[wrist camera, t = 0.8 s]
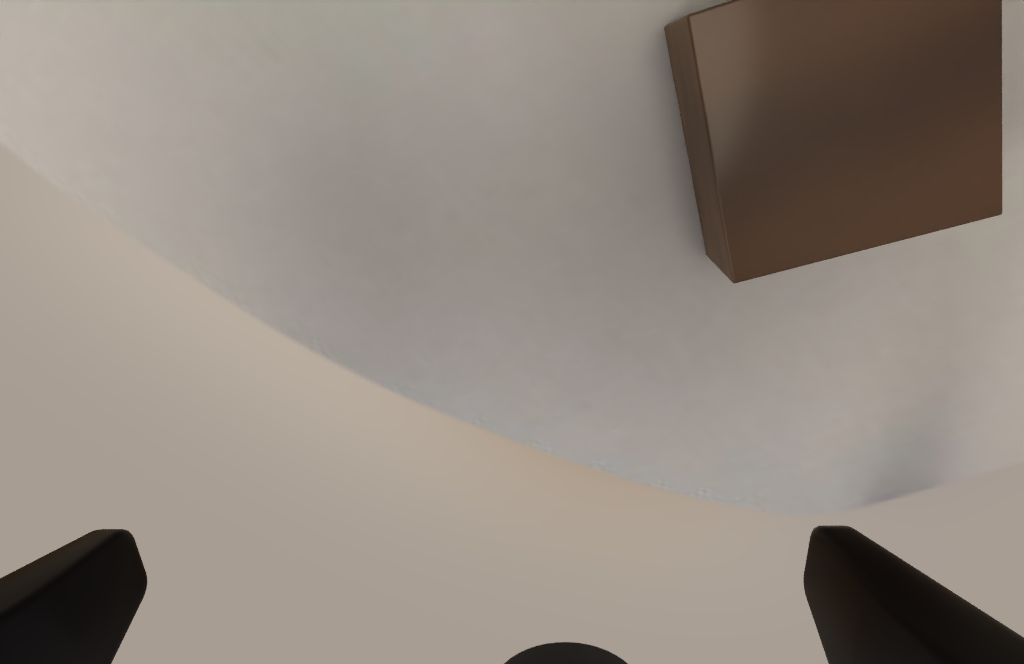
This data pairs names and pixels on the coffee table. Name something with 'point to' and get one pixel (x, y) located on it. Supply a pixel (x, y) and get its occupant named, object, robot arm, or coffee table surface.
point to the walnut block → (837, 124)
